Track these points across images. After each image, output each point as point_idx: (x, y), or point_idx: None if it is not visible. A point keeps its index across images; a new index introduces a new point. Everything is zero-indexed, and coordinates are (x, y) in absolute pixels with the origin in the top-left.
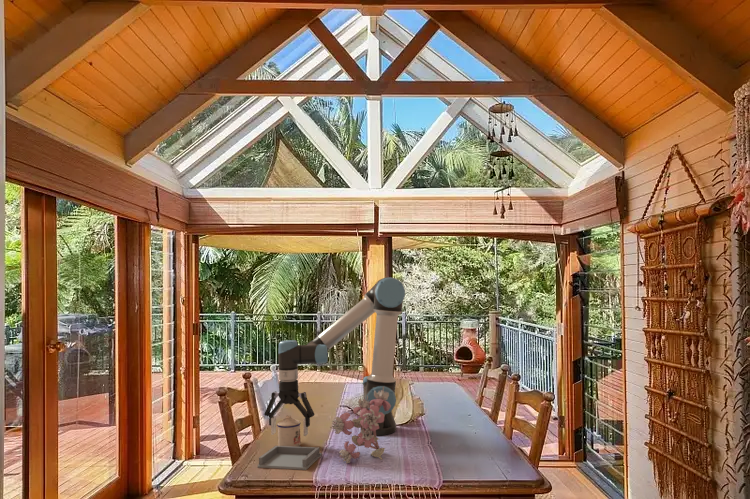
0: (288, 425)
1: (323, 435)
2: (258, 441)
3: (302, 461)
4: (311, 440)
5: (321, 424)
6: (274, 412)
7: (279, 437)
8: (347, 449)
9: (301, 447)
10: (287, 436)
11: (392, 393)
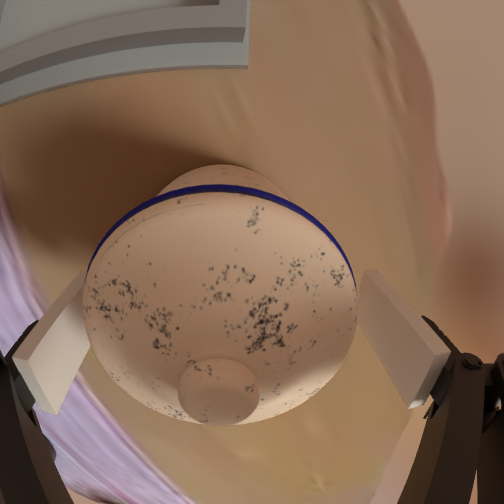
0: (153, 209)
1: (130, 412)
2: (427, 294)
3: None
4: None
5: (217, 487)
6: (449, 408)
7: (282, 194)
8: None
9: (33, 44)
10: (190, 179)
11: None
